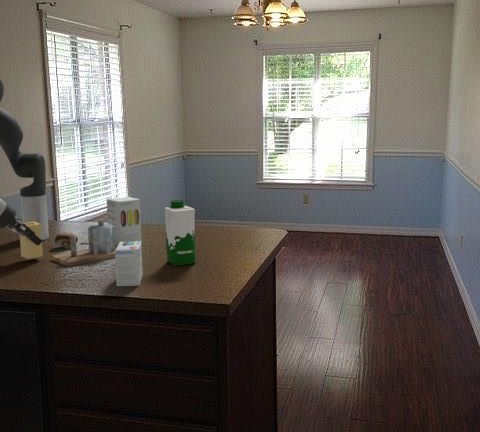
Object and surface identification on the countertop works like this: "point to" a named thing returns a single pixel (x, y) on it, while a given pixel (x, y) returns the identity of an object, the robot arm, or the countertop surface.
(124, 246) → the light bulb box
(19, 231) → the robot arm
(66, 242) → the mushroom
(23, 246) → the yellow rectangular block
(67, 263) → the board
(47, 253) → the countertop surface
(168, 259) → the milk carton
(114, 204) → the supplement box
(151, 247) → the countertop surface
